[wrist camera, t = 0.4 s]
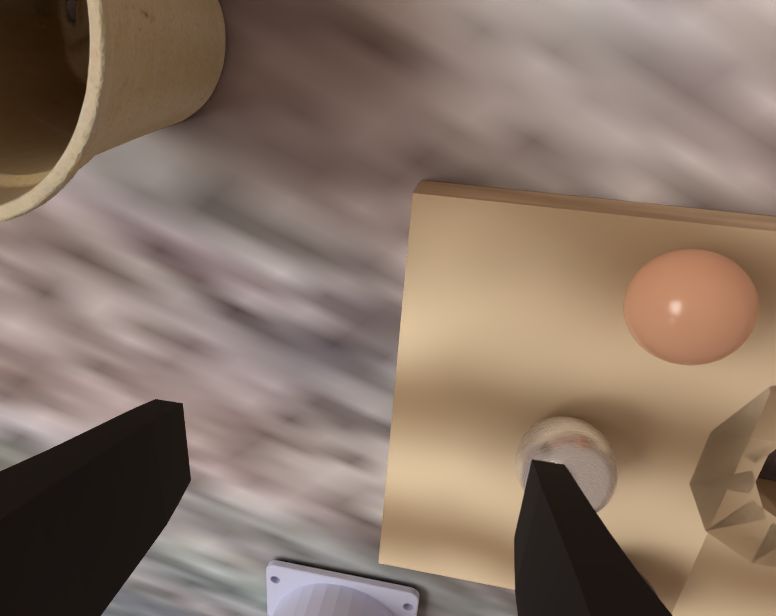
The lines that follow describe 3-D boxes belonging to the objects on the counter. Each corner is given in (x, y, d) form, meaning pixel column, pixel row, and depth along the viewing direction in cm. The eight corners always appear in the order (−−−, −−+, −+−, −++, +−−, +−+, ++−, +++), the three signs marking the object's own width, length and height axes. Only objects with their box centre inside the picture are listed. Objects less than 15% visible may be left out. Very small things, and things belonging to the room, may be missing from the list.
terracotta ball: (705, 340, 16) (756, 396, 13) (600, 326, 16) (626, 378, 13) (742, 242, 15) (808, 279, 12) (626, 229, 15) (662, 262, 12)
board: (843, 603, 22) (886, 662, 20) (387, 518, 24) (378, 563, 22) (1073, 247, 15) (1177, 273, 13) (421, 180, 18) (412, 193, 16)
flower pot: (292, 167, 18) (154, 224, 11) (66, 177, 20) (-199, 231, 12) (251, -163, 15) (-6, -450, 7) (-21, -120, 16) (-479, -313, 9)
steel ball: (594, 478, 18) (615, 550, 16) (505, 463, 19) (510, 531, 16) (616, 405, 17) (644, 469, 14) (521, 391, 18) (529, 450, 15)
